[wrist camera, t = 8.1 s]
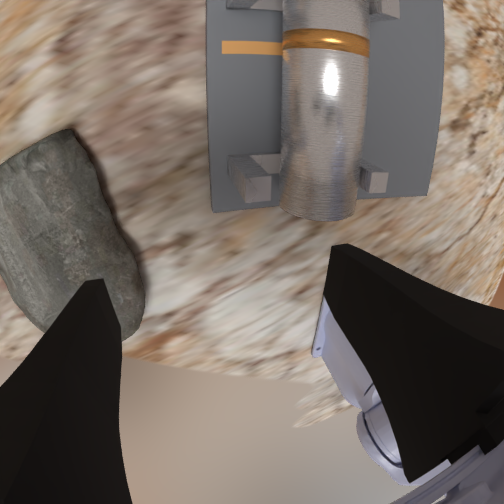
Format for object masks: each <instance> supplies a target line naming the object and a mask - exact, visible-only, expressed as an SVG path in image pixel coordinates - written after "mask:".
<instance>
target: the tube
mask: <svg viewBox="0 0 504 504" xmlns="http://www.w3.org/2000/svg"><path fill="white" fill-rule="evenodd" d="M282 51H283V55H282V114H281V150H280V179H279V205H280V207H281V208H282V209H283V210H284V211H286V212H288V213H290V214H292V215H294V216H297V217H300V218H304V219H309V220H315V221H337V220H342V219H346V218H348V217H350V216H351V215H353V213H354V211H355V204H356V198H357V191H358V184H359V177H360V169H361V161H362V152H363V143H364V133H365V122H366V110H367V96H368V78H369V56H370V16H369V0H283V33H282Z"/></svg>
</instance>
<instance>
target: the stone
mask: <svg viewBox="0 0 504 504" xmlns="http://www.w3.org/2000/svg"><path fill="white" fill-rule="evenodd" d="M0 274H1V276H2V278H3V280H4V282H5V284H6V285H7V288H8V290H9V293H10V295H11V297H12V299H13V301H14V302H15V304H16V305H17V306H18V307H19V308H20V309H21V310H22V311H23V313H24V314H25V315H26V317H27V318H28V319H29V320H30V321H31V322H32V323H33V324H34V325H35V326H36V327H37V328H39V329H40V330H41V331H42V332H44V333H46V331H47V330H48V329H49V328H50V326H51V325H52V324H53V322H54V321H55V319H56V318H57V317H58V315H59V314H60V313H61V311H62V310H63V309H64V307H65V306H66V305H67V303H68V302H69V301H70V299H71V298H72V297H73V295H74V294H75V293H76V291H77V290H78V289H79V288H80V286H81V285H82V284H83V283H84V282H85V281H87V280H94V279H101V278H104V281H105V284H106V287H107V290H108V293H109V296H110V299H111V302H112V304H113V307H114V310H115V312H116V315H117V318H118V320H119V323H120V325H121V337H122V341H124V340H126V339H127V338H129V337H130V336H132V335H133V334H134V333H135V332H136V331H137V330H138V328H139V326H140V323H141V321H142V317H143V313H144V307H145V294H144V289H143V284H142V281H141V277H140V274H139V271H138V267H137V263H136V260H135V257H134V255H133V253H132V251H131V250H130V249H129V248H128V246H127V243H126V242H125V240H124V239H123V238H122V237H121V236H120V234H119V233H118V231H117V228H116V226H115V225H114V221H113V218H112V216H111V212H110V209H109V207H108V205H107V203H106V202H105V200H104V198H103V194H102V191H101V189H100V185H99V181H98V178H97V172H96V170H95V168H94V165H93V164H92V163H91V162H90V160H89V157H88V154H87V152H86V151H85V150H84V148H83V147H82V146H81V145H80V144H79V143H78V142H77V140H76V138H75V136H74V133H73V131H72V130H70V129H65V130H62V131H59V132H56V133H54V134H51V135H50V136H48V137H46V138H44V139H42V140H40V141H39V142H37V143H35V144H34V145H32V146H30V147H28V148H26V149H24V150H22V151H21V152H19V153H17V154H16V155H14V156H12V157H11V158H9V159H8V160H6V161H5V162H4V163H2V164H1V165H0Z"/></svg>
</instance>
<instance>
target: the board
mask: <svg viewBox="0 0 504 504" xmlns="http://www.w3.org/2000/svg"><path fill="white" fill-rule="evenodd" d="M399 7H400V19H394V20H386V21H378V22H371V23H370V56H369V78H368V96H367V110H366V122H365V133H364V143H363V152H362V159H364V160H366V161H368V162H370V163H372V164H374V165H376V166H378V167H379V168H381V169H383V170H385V171H387V172H389V174H388V181H387V186H386V192H385V193H367V192H366V191H364V190H363V189H361V188H360V187H358V191H357V198H356V200H357V199H372V198H389V197H409V196H427V192H428V188H429V183H430V178H431V173H432V168H433V162H434V156H435V150H436V144H437V137H438V130H439V122H440V114H441V104H442V92H443V77H444V11H443V0H399ZM282 33H283V13H279V12H269V11H255V10H232V9H226V0H206V94H207V127H208V152H209V173H210V191H211V208H212V212H213V213H217V212H226V211H234V210H244V209H253V208H263V207H273V206H280V205H279V179H280V173H274V174H270V175H271V201H261V202H251V203H245V201H244V200H243V198H242V196H241V195H240V193H239V192H238V190H237V188H236V187H235V185H234V184H233V182H232V181H231V179H230V177H229V176H228V170H227V155H234V154H249V153H268V152H280V150H281V114H282V55H283V51H282Z"/></svg>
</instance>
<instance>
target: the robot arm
mask: <svg viewBox="0 0 504 504" xmlns="http://www.w3.org/2000/svg"><path fill="white" fill-rule="evenodd" d="M323 295H324V297H323V302H322V307H321V312H320V317H319V321H318V326H317V331H316V335H315V340H314V344H313V349H312V353H311V355H312V357H314V358H316V357H320V356H322V358H323V360H324V362H325V364H326V366H327V367H328V369H329V371H330V373H331V375H332V377H333V379H334V381H335V382H336V384H337V386H338V388H339V390H340V392H341V394H342V395H343V397H344V398H345V399H346V400H347V401H348V402H349V403H350V404H352V405H353V406H355V407H357V408H360V409H362V411H361V412H360V413H359V414H358V416H357V425H356V428H357V434H358V437H359V439H360V442H361V444H362V445H363V447H364V449H365V451H366V452H367V454H368V455H369V456H370V457H371V459H373V461H374V462H375V463H377V464H378V465H379V466H381V467H382V468H383V469H385V471H386V472H387V473H388V474H389V475H390V476H391V477H392V479H393V480H394V481H396V482H397V483H398V484H399V485H407V486H412V485H413V486H416V485H421V486H419V487H418V488H416V489H415V490H413V491H411V492H410V493H408V494H406V495H405V496H403V497H401V498H399V499H397V500H396V501H394V502H392V503H390V504H431V503H433V502H434V501H436V500H437V499H439V498H440V497H441V496H443V495H445V497H446V498H445V499H443V500H441V501H439V502H437V503H435V504H504V310H502V309H498V308H494V307H491V306H487V305H484V304H481V303H477V302H474V301H471V300H468V299H465V298H463V297H460V296H457V295H455V294H452V293H450V292H447V291H445V290H442V289H440V288H438V287H435V286H433V285H431V284H429V283H427V282H425V281H423V280H421V279H419V278H416V277H414V276H412V275H410V274H408V273H406V272H405V271H403V270H401V269H399V268H397V267H395V266H393V265H391V264H389V263H387V262H385V261H383V260H381V259H380V258H378V257H376V256H374V255H372V254H370V253H368V252H366V251H364V250H362V249H359V248H357V247H355V246H353V245H350V244H341V245H334V246H332V247H331V253H330V259H329V265H328V271H327V276H326V282H325V287H324V293H323ZM121 363H122V337H121V325H120V323H119V320H118V318H117V315H116V312H115V310H114V307H113V304H112V302H111V299H110V296H109V293H108V290H107V287H106V284H105V281H104V278H101V279H94V280H87V281H85V282H84V283H83V284H82V285H81V286H80V288H79V289H78V290H77V291H76V293H75V294H74V295H73V297H72V298H71V299H70V301H69V302H68V303H67V305H66V306H65V307H64V309H63V310H62V311H61V313H60V314H59V315H58V317H57V318H56V319H55V321H54V322H53V324H52V325H51V326H50V328H49V329H48V330H47V331H46V333H45V334H44V335H43V336H42V338H41V339H40V340H39V342H38V343H37V344H36V346H35V347H34V348H33V350H32V351H31V352H30V353H29V355H28V356H27V357H26V358H25V360H24V361H23V362H22V363H21V364H20V366H19V367H18V368H17V369H16V370H15V371H14V372H13V374H12V375H11V376H10V377H9V378H8V379H7V380H6V382H4V384H3V385H2V386H1V387H0V504H132V500H131V496H130V492H129V488H128V484H127V479H126V474H125V468H124V463H123V457H122V449H121V441H120V433H119V398H120V379H121Z"/></svg>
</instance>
